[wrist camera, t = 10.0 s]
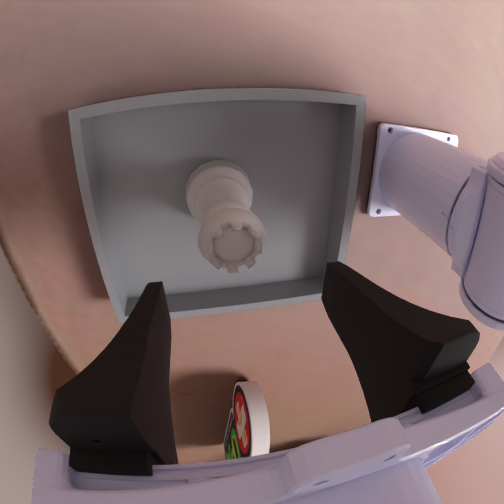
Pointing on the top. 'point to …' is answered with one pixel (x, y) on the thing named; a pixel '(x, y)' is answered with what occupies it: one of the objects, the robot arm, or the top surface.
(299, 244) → the box
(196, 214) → the rook chess piece
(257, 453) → the sign
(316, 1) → the top surface
